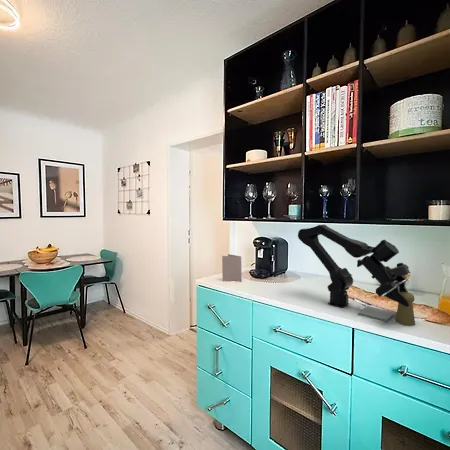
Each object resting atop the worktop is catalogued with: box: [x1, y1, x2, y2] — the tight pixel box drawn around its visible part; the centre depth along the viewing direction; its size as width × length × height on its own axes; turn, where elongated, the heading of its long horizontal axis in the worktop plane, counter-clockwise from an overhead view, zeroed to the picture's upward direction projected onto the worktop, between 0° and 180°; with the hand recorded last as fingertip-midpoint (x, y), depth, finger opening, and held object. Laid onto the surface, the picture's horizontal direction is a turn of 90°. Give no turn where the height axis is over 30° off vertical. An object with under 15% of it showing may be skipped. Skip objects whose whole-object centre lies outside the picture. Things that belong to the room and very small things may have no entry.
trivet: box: [357, 305, 396, 323], centre depth 104 cm, size 10×10×1 cm
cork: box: [394, 291, 416, 327], centre depth 97 cm, size 6×6×11 cm
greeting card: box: [221, 253, 243, 283], centre depth 156 cm, size 11×7×15 cm, turn 41°
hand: (410, 304), depth 96 cm, fingers closed on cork, 5 cm apart
